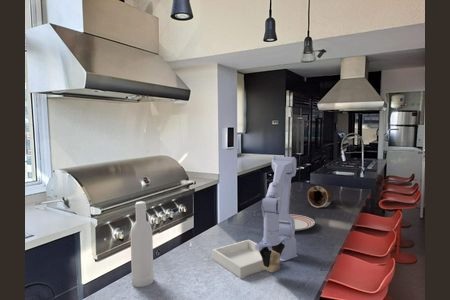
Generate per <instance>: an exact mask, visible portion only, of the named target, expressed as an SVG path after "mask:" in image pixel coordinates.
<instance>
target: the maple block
mask: <svg viewBox="0 0 450 300" xmlns="http://www.w3.org/2000/svg"><path fill="white" fill-rule="evenodd" d="M270 250H271V251H272V252H271V255H270V263H269V267H266V266H264V264H263V268H264V269H266V270H265V271H267V272H270V273H274V272H276V271H278V270H281V263H280V262H281V261H280V253H278V252H275V251H273V250H272V249H270Z"/></svg>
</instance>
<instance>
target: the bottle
mask: <svg viewBox="0 0 450 300" xmlns="http://www.w3.org/2000/svg"><path fill="white" fill-rule="evenodd" d="M134 204H135V205H134V208H135V222H134V223H133V224H132V226H131V228H130V231H129V232H130V233H129V235H130V257H131V258H130V259H131V260H130V263H131V284H132V285H133V287H136V288H145V287H149V286H150V285H151V284H153V282H154V281H155V280H154V279H155V278H154V274H155V273H154V243H153V241H154V239H153V228H152V225H151V223H150V222H149V221H147V203H146V201H143V200H142V201H136V203H134Z"/></svg>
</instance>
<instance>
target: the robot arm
mask: <svg viewBox="0 0 450 300" xmlns="http://www.w3.org/2000/svg"><path fill="white" fill-rule="evenodd" d="M271 169H272V172H273V173H274V174H273V179H272V182H270V183H269V184H268V185H269V186H268V188H267V190H266V191H267V193H266V195H265V197H264V198H262V200H261V211H262V217H263V237H262V240H261V241H260V242H258V243H257V244H255V249H256V250H257V251H259V252H260V254H261V257H262V260H263V264H264V266H266V267H269V263H270V255H271V252H272V251H271V250H273V251H275V252H278V253H280V262H285V261H289V260H291V259H294V258H297V257H298V254H297V239H296V237H295V232H296V231H295V221H294V219H293V218H292V217H291V216H290V215H289V214H290V212H289V211H290V195H291V193H290V192H291V181H292V178H293V177H295V176H296V173H297V158H296V157H295V156H273V157H272V159H271ZM281 221H287V222H281ZM269 247H271V249H269Z"/></svg>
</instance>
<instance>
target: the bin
mask: <svg viewBox="0 0 450 300" xmlns="http://www.w3.org/2000/svg"><path fill="white" fill-rule="evenodd" d="M255 244H258V243H257V242H254V241H253V240H251V239H246V240H242V241H238V242H235V243H230V244H228V245H224V246H220V247H216V248H213V249H211V250H212V251H211V253H212V261H214V262H215V263H217V264H219V265H220V266H221V267H222V268H224V269H225V270H227V271H229V272H230V273H231V274H233V275H234V276H236V278H238V279H240V280H241V279H244V278H245V279H246V278H247V277H249V276H253V275H255V274H256V275H257V274H258V273H261V272H263V271H267V270H266V269H264V268H263V260H262V257H261V254H260V252H259V251H257V250H256V249H255Z"/></svg>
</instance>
